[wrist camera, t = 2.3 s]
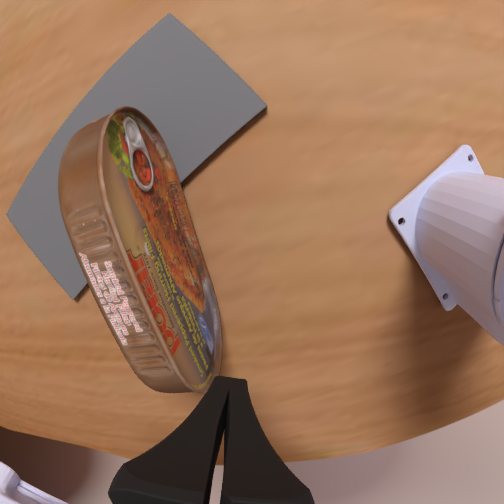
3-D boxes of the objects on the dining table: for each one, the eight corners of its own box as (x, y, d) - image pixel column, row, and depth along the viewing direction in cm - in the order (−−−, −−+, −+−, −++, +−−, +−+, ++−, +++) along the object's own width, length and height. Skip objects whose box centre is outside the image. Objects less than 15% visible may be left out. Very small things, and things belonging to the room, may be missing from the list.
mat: (267, 106, 17) (267, 105, 16) (76, 297, 21) (73, 299, 21) (171, 15, 15) (169, 12, 15) (9, 213, 19) (6, 214, 19)
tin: (228, 331, 21) (219, 426, 14) (186, 339, 22) (161, 430, 14) (161, 110, 16) (95, 91, 9) (114, 128, 17) (29, 128, 9)
